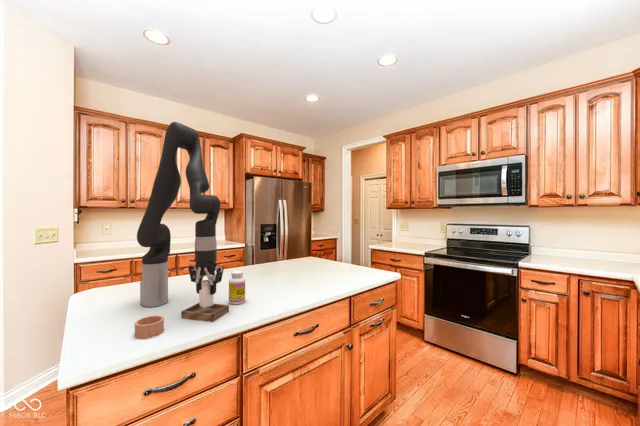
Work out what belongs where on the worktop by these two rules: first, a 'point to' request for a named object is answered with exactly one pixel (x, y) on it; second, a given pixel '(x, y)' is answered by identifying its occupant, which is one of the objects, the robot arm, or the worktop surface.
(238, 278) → the supplement bottle
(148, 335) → the collar
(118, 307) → the worktop surface
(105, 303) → the worktop surface
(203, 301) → the salt shaker
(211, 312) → the tray
